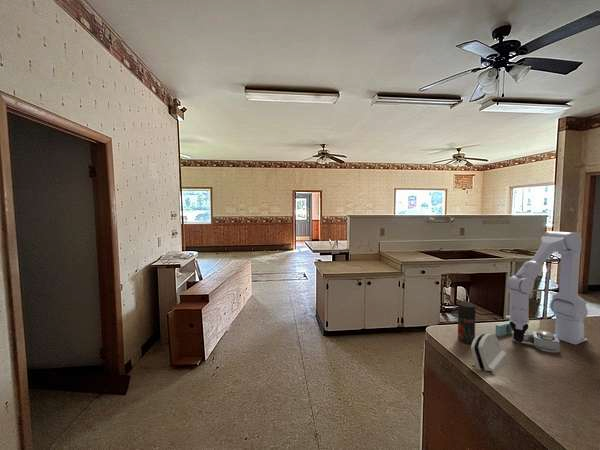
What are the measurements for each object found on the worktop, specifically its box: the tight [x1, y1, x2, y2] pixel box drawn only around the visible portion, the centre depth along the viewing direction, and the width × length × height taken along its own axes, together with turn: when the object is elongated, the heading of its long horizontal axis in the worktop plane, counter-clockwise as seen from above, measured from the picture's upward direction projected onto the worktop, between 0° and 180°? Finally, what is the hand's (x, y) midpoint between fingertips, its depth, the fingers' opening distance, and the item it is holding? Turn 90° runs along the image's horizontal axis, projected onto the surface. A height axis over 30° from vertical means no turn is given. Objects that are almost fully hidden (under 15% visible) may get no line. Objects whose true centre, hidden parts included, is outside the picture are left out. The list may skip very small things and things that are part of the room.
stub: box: [531, 330, 561, 354], centre depth 103 cm, size 8×8×6 cm
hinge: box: [470, 333, 509, 377], centre depth 94 cm, size 17×5×10 cm, turn 130°
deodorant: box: [457, 301, 476, 346], centre depth 109 cm, size 6×6×15 cm
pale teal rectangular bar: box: [495, 320, 513, 337], centre depth 116 cm, size 12×2×4 cm, turn 113°
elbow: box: [511, 331, 560, 352], centre depth 105 cm, size 14×7×4 cm, turn 54°
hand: (518, 341), depth 106 cm, fingers closed
